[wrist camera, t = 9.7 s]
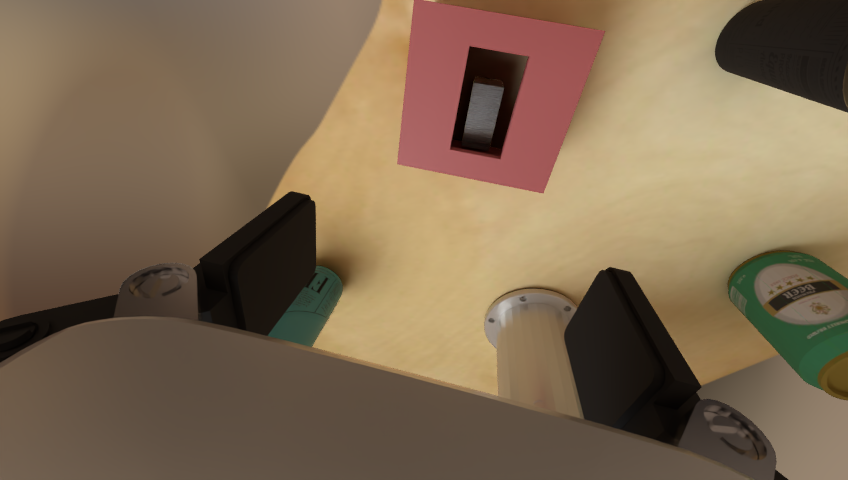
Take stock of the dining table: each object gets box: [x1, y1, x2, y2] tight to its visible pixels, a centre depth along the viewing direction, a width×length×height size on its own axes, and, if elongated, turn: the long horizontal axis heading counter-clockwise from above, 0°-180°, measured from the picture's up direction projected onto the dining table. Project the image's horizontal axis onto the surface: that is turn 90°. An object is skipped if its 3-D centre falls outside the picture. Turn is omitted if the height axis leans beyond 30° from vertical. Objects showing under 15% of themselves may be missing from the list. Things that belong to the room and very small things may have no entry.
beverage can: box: [728, 251, 848, 400], centre depth 30 cm, size 8×8×12 cm
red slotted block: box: [397, 0, 605, 193], centre depth 27 cm, size 12×11×8 cm
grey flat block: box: [461, 76, 504, 151], centre depth 29 cm, size 2×5×5 cm
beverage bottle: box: [268, 266, 343, 347], centre depth 37 cm, size 6×7×20 cm
